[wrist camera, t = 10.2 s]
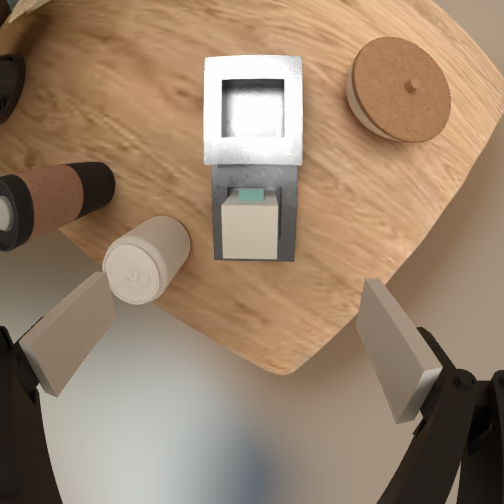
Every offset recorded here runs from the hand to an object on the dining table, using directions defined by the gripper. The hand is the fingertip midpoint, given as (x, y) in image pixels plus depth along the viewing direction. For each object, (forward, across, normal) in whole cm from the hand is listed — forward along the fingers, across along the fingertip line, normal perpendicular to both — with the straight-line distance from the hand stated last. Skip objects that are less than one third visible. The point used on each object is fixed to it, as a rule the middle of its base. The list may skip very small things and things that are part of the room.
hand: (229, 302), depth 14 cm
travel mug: (+26, -24, +4) cm, 35 cm away
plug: (+24, 0, 0) cm, 24 cm away
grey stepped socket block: (+25, 0, +6) cm, 26 cm away
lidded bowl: (+26, +17, +16) cm, 34 cm away
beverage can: (+26, -13, -5) cm, 29 cm away
